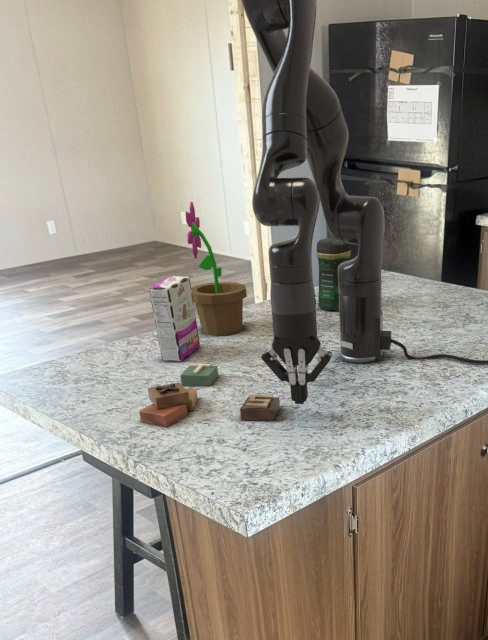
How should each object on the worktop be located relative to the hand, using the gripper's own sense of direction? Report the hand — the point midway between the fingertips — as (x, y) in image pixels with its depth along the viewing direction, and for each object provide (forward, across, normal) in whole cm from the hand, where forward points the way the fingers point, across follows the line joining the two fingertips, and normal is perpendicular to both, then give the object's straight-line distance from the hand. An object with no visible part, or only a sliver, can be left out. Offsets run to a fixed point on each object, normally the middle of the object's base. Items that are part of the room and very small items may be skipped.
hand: (300, 402), depth 128 cm
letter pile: (+3, -25, 0) cm, 25 cm away
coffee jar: (+2, -5, +77) cm, 77 cm away
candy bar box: (+3, -35, +34) cm, 49 cm away
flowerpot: (+2, -31, +54) cm, 62 cm away
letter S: (+2, -8, 0) cm, 8 cm away
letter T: (+2, -25, +17) cm, 30 cm away
